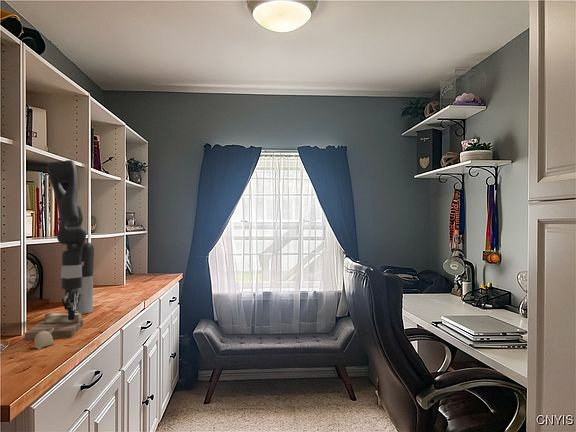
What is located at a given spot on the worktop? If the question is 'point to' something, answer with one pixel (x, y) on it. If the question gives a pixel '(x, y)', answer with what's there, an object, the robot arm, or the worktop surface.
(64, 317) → the ash leg
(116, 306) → the worktop surface
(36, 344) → the decorative ornament
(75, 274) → the robot arm
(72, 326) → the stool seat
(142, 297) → the worktop surface
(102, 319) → the worktop surface
